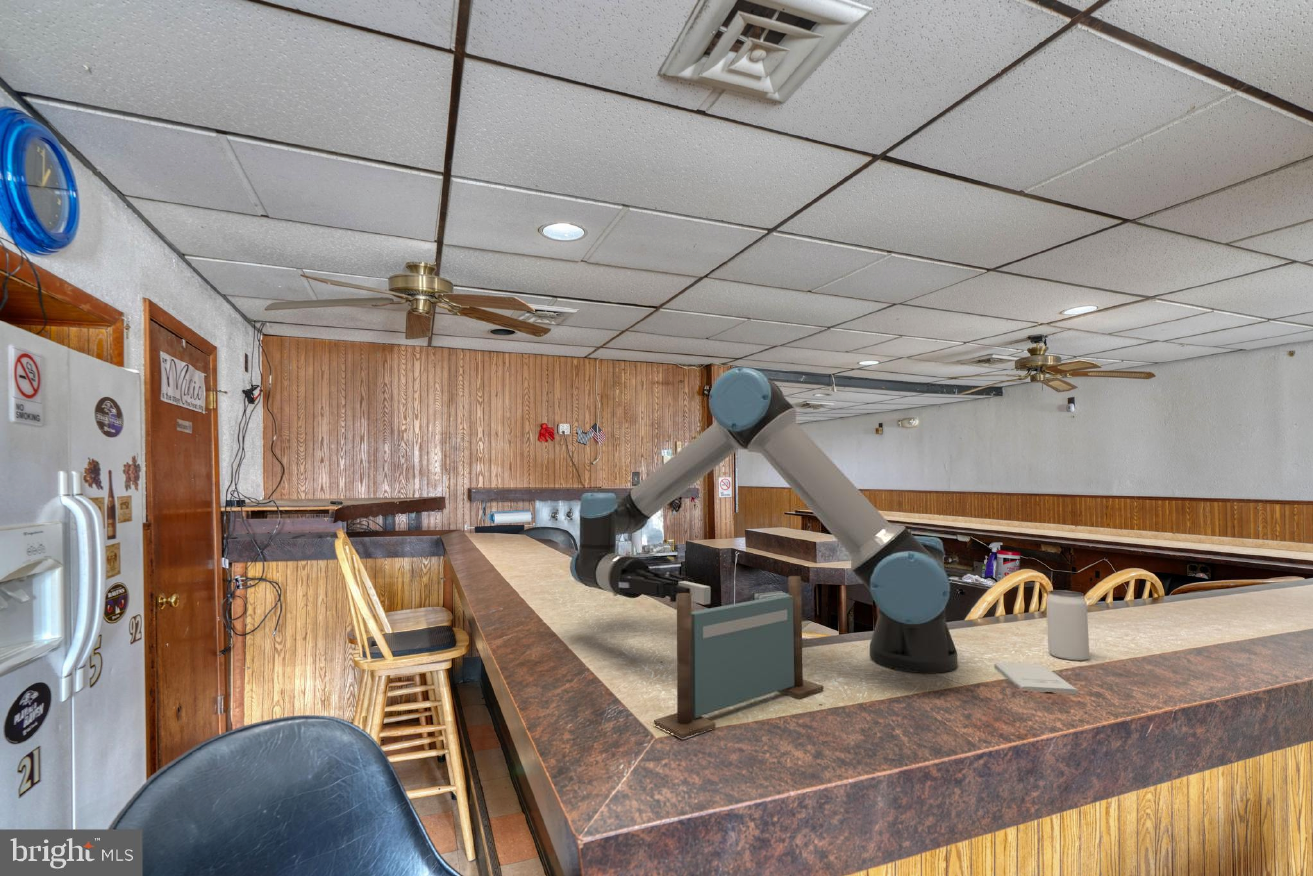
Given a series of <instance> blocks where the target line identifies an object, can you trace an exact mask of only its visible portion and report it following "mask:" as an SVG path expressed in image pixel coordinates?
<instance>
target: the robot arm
mask: <svg viewBox="0 0 1313 876" xmlns="http://www.w3.org/2000/svg"><path fill="white" fill-rule="evenodd" d="M708 406H709V410H710V414H711V415H712V417H713V419H714V420H715V422H713V424H711V425H710V426H709V427H708V428H707V429H705V430H704V431H703V432H702V433H701V434H699V435H698V436H697V437H695V438H694V439H693V440H692V441H690V442H689V443H688V444H687V445H686V446H684V447H683V448H681V449H680V450H679V451H678V452H676V454H674V455H673V456H671V458H669V459H668V460H667V461H666V462H664V463H663V464H662V465H661V466H659V467H658V468H657V469H656V470H655V471H653V472H652V473H651V474H649V475H648V476H647V477H646V478H645V479H643V480H642V481H641V482H640V483H639V484H637V485H636V486H635V487H634V488H632V489H631V490H630V491H629V492H627V493H626V494H625V495H624V496H623V497H621V498H620V499H618V500H617V496H616V495H615V493H612V492H585V493H583V494H582V495H581V498H580V505H579V506H580V509H579V510H578V511H579V513H578V514H579V546H578V547H579V549H578V550H577V551H576V552H575V553H574V554H573V555H572V558H571V560H570V562H569V563H570V564H569V570H570V573H571V576H572V577H573V579H574V580H575V581H576V582H578V583H580V584H581V585H584V586H585V587H589V588H594V589H597V590H601V591H605V592H608V593H612V595H613V596H614V597H617V596H618V595H619V596H621V597H625V598H628V599H637V598H639V597H641V596H647V597H653V598H654V597H655V598H658V599H666V597H669V599H670V600H669V602H670V603H675V602H676V603H677V594H678V593H689V594H691V603H696V604H700V605H704V606H705V605H710V604H711V586H709V585H704V584H700V583H695V582H694V578H691V577H689V576H688V575H687V576H685V575H682V574H681V575H680V574H678V573H676V571H673V570H669V571H668V572H666V574H665V573H664V572H662V571H657V570H656V569H653V568H650V567H649V565H648V563H647V562H645V560H643V559H642V558H639V557H634V556H633V557H632V556H629V555H626V554H625V555H624V554H620V553H617V552H616V550H617V549H616V548H617V536H621V535H627V534H634V533H637V532H638V531H641V530H642V529H643V528H645V526H646V525H647V524H648V521H649V519H651V518H653V516H654V515H656V514H657V513H658V512H660V511H661V510H662V509H663V508H665V507H666V506H668V505H669V504H670V503H671V502H673V501H674V500H675V499H676V498H678V497H679V496H680V495H681V494H683V493H685V492H686V490H688V489H689V488H691V487H692V486H693V485H694V484H696V483H697V482H698V481H700V480H701V479H703V477H705V476H706V475H707V474H709V473H710V472H711V471H713V470H714V469H715V468H717V466H719V465H721V463H723V462H724V461H725V460H727V459H728V458H729V457H731V456H732V455H733V454H734V453H736V452H737V451H738V450H745V451H748V453H758V454H761V456H763V458H764V459H766V461H767V462H768V463H769V465H771V466H772V468H773V469H774V470H775V471H776V472H777V473H778V475H779V476H781V478H782V479H783V481H784V482H785V483H787V485H788V486H789V487H790V488H791V489H792V490H793V492H794V493H795V494H796V495H797V496H798V497H799V498H800V500H801V501H802V502H803V503H804V505H806V506H807V508H808V509H809V510H810V511H811V512H812V513H813V515H815V517H816V518H817V519H818V520H819V521H820V522H821V523H822V525H823V526H824V527H825V528H826V529H827V530H828V531H829V533H830V534H831V535H832V536H833V537H834V538H835V539H836V540H837V542H838V543H839V544H840V545H841V546H842V547H843V548H844V550H845V551H846V552H847V553H848V554H849V555H850V558H851V560H850V569H851V570H852V572H853V573H854V574H855V576H857V578H858V579H859V580H860V581H861V582H862V584H863V585H864V586H865V587H866V588H867V590H869V592H870V594H871V597H872V600H873V601H874V602H875V603H874V604H875V605H876V606H877V608H878V610H877V611H878V617H877V620H876V624H875V627H874V630H873V633H872V636H871V638H870V639H871V640H870V643H869V657H870V659H871V660H872V661H874V663H876V664H879V665H881V666H883V667H884V666H885V667H886V668H887V667H888V668H890V669H895V670H899V671H905V672H912V673H913V672H914V673H921V674H922V673H925V674H926V673H927V674H928V673H929V674H931V673H932V674H935V673H936V674H937V673H947V672H951V671H954V670H956V669H957V668H958V667H959V663H958V662H959V659H958V656H959V655H958V651H957V648H956V646H955V643H954V641H953V638H952V635H951V632H950V629H949V626H948V624H947V621H946V620H947V617H946V606H947V604H948V602H949V599H950V596H951V594H950V592H951V583H950V578H949V576H948V574H947V572H946V570H945V562H944V560H945V559H944V557H945V555H946V552H945V550H944V543H943V541H942V540H941V539H940V538H938V537H934V536H918V535H913V534H912V533H911V532H910V531H909V529H908V528H907V527H906V526H905V525H897V524H892V523H890V522H889V521H888V520H887V519H886V518H885V517H884V516H883V515H882V514H881V513H880V511H879V510H878V509H877V508H876V507H875V506H874V505H873V504H872V503H871V502H870V500H869V499H868V498H867V497H866V496H865V495H864V494H863V493H862V491H860V490H859V488H858V487H856V485H855V484H854V483H853V482H852V481H851V480H850V479H849V477H847V476H846V475H845V474H844V472H843V471H842V470H841V469H840V468H839V467H838V466H837V465H836V464H835V463H834V461H833V460H832V459H830V457H829V456H828V455H827V454H826V453H825V452H824V451H823V449H821V448H820V447H819V445H818V444H817V443H816V442H815V441H814V440H813V439H812V438H811V436H809V435H808V433H807V432H806V431H805V430H804V429H803V428H802V427H801V426H800V425H799V424H798V422H797V409H796V408H795V407H794V406H793V405H792V403H790V401H789V400H788V399H787V398H786V397H785V395H784V392H783V391H782V390H781V388H780V386H778V385H777V384H776V383H775V382H774V381H772V380H770V378H768V377H766V376H765V375H764V374H763V373H762V372H761V371H759V370H756V369H754V368H751V367H735V368H731V369H729V370H726V371H725V372H723V373H722V374H721V375H720V376H719V377H718V378H717V379H716V380H715V381H714V383H713V384H712V387H711V390H710V392H709V397H708Z"/></svg>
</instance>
